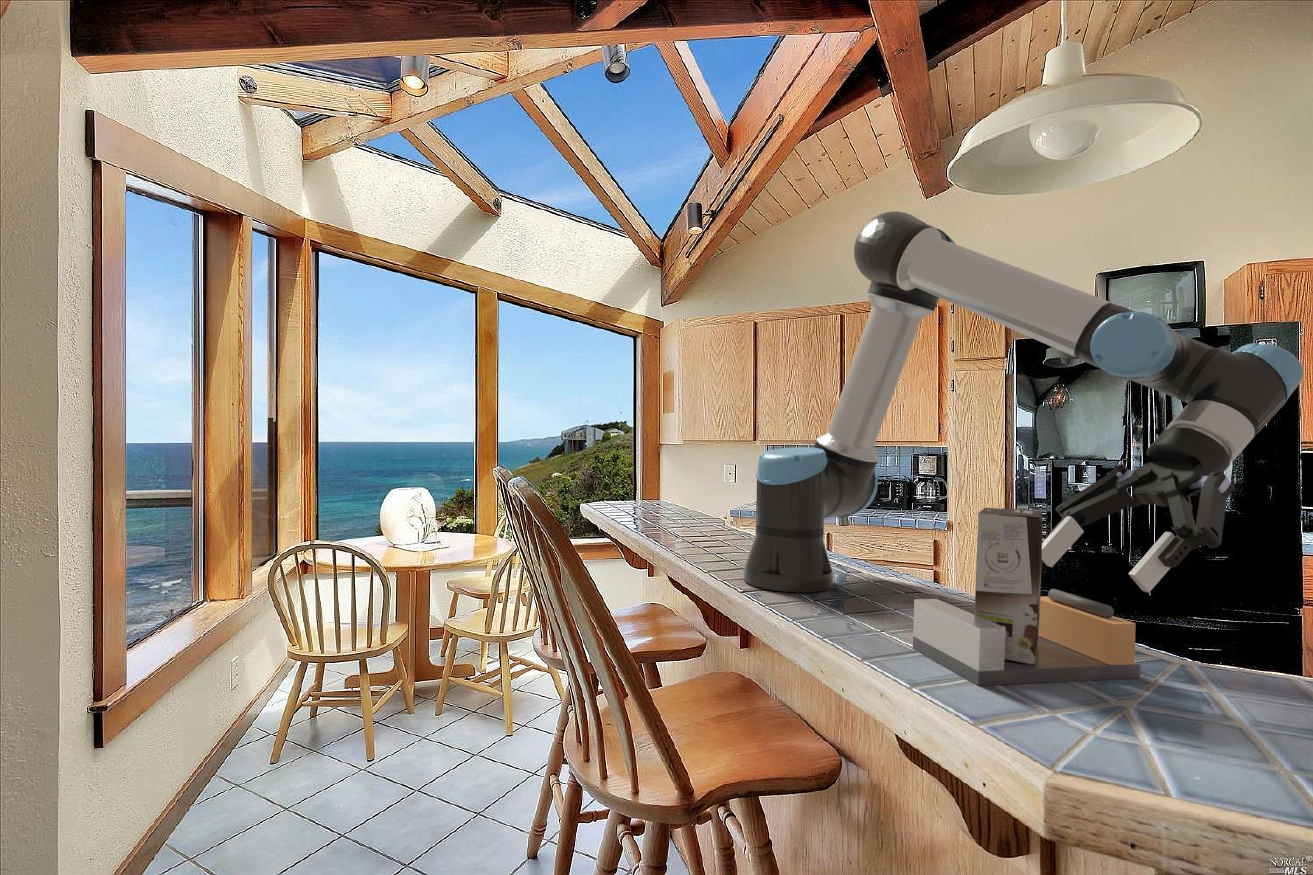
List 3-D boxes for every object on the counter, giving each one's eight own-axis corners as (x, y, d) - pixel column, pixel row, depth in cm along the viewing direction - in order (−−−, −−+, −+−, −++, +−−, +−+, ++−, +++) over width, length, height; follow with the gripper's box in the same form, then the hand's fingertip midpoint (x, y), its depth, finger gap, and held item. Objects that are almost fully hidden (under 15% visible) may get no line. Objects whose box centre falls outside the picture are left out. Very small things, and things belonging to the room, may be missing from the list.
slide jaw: (1029, 632, 84) (1030, 585, 84) (1049, 631, 84) (1051, 584, 84) (1110, 665, 72) (1112, 610, 72) (1134, 664, 72) (1136, 610, 72)
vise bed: (912, 648, 81) (914, 599, 81) (1054, 643, 84) (1056, 596, 84) (978, 685, 69) (980, 628, 69) (1139, 678, 73) (1141, 623, 73)
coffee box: (1037, 666, 71) (1042, 516, 71) (971, 654, 74) (976, 511, 74) (1039, 644, 79) (1044, 509, 79) (979, 634, 82) (984, 505, 82)
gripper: (1334, 475, 69) (1210, 622, 66) (1125, 463, 93) (1028, 570, 91) (1295, 423, 68) (1168, 569, 65) (1093, 425, 93) (995, 531, 90)
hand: (1086, 570), depth 78 cm, fingers open, 13 cm apart
